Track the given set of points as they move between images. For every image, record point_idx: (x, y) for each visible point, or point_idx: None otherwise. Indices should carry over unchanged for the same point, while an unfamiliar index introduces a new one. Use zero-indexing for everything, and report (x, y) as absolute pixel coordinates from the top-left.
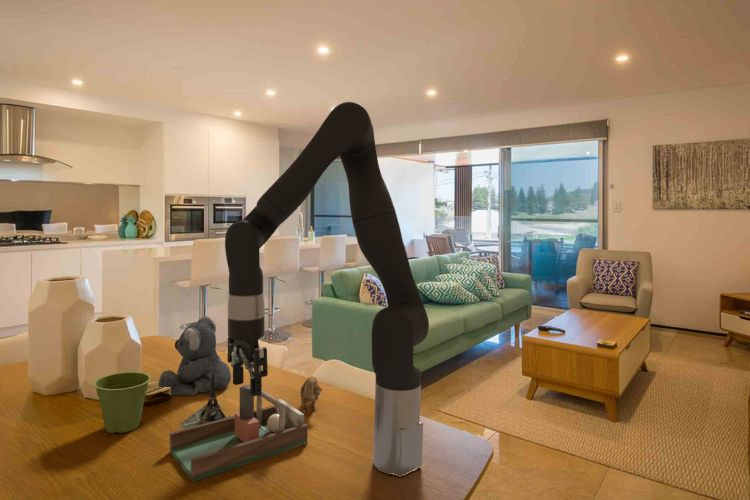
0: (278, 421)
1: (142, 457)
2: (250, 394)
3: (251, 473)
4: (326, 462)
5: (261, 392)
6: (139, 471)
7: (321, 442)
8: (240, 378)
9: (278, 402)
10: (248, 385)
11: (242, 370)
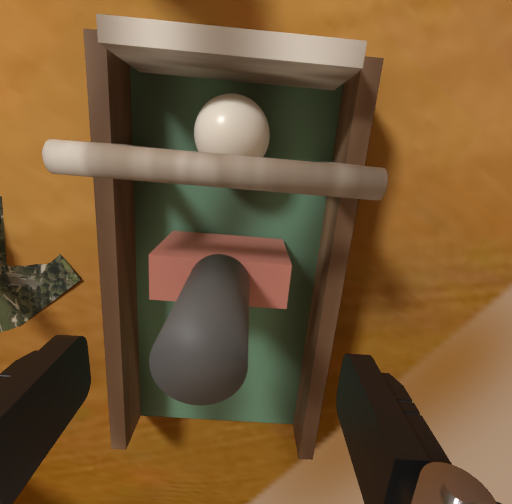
0: (263, 143)
1: (122, 449)
2: (338, 412)
3: (369, 306)
4: (496, 109)
5: (371, 357)
6: (183, 468)
7: (386, 25)
8: (62, 377)
9: (333, 186)
10: (166, 340)
11: (16, 414)
